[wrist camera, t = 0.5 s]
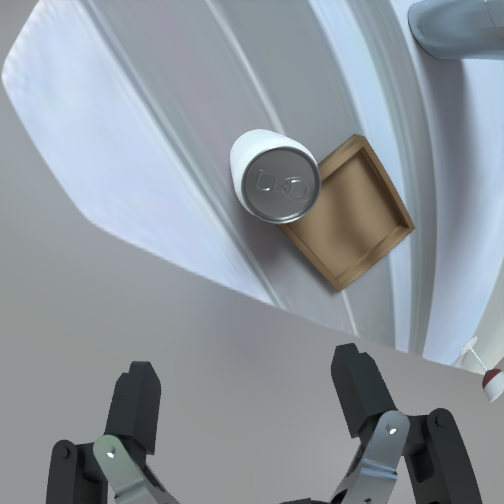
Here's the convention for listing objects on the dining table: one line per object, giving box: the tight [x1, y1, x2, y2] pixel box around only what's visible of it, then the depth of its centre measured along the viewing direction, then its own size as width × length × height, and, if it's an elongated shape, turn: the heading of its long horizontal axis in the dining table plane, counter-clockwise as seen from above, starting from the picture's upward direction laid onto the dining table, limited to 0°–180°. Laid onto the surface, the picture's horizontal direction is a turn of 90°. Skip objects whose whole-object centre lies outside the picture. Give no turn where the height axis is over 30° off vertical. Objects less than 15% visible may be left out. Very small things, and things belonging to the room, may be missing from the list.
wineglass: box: [460, 337, 504, 403], centre depth 49 cm, size 8×9×20 cm
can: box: [230, 129, 321, 224], centre depth 23 cm, size 6×6×12 cm
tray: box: [276, 134, 415, 292], centre depth 32 cm, size 14×15×2 cm
